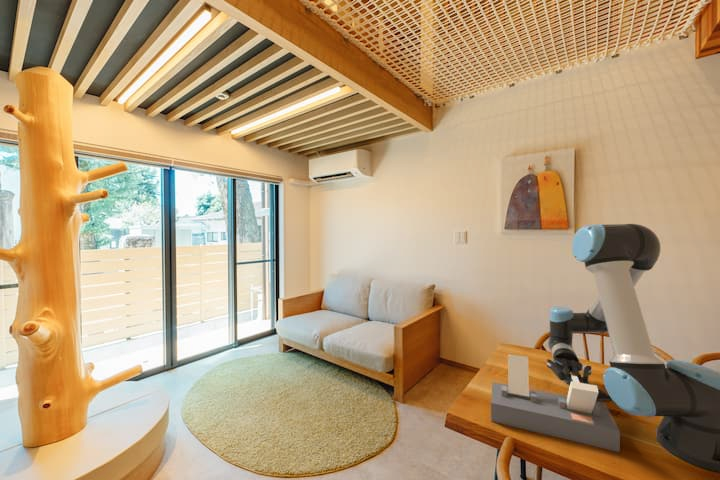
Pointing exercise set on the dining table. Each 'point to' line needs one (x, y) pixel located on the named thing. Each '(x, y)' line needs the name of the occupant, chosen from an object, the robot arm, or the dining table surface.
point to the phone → (600, 395)
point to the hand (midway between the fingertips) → (578, 390)
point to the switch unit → (554, 417)
